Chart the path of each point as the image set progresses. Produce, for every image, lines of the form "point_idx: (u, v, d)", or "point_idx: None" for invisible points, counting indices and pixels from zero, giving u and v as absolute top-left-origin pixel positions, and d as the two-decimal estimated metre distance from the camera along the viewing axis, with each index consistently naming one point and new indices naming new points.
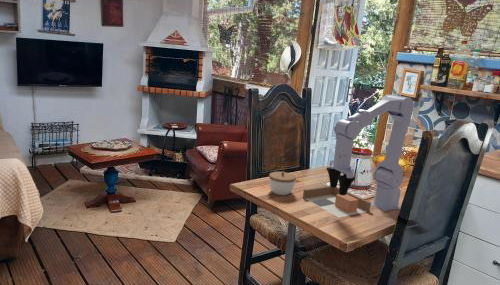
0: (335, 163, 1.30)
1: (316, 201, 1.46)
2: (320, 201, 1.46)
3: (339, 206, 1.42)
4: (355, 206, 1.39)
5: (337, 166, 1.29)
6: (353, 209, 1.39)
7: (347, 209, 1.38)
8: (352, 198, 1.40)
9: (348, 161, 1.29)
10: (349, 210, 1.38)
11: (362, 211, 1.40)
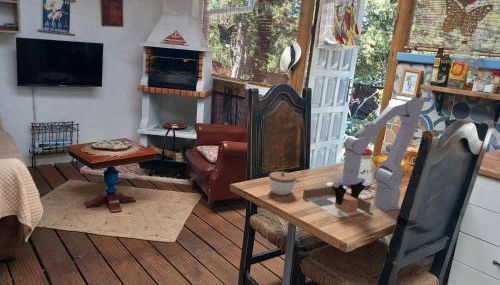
0: None
1: (316, 201, 1.46)
2: (320, 201, 1.46)
3: (339, 206, 1.42)
4: (355, 206, 1.39)
5: (342, 177, 1.40)
6: (353, 209, 1.39)
7: (347, 209, 1.38)
8: (352, 198, 1.40)
9: (347, 174, 1.37)
10: (349, 210, 1.38)
11: (362, 211, 1.40)
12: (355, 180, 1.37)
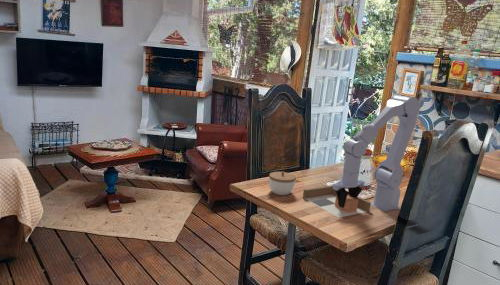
0: None
1: (316, 201, 1.46)
2: (320, 201, 1.46)
3: (339, 206, 1.42)
4: (355, 206, 1.39)
5: (341, 180, 1.41)
6: (353, 209, 1.39)
7: (347, 209, 1.38)
8: (352, 198, 1.40)
9: (347, 177, 1.37)
10: (349, 210, 1.38)
11: (362, 211, 1.40)
12: (355, 183, 1.37)
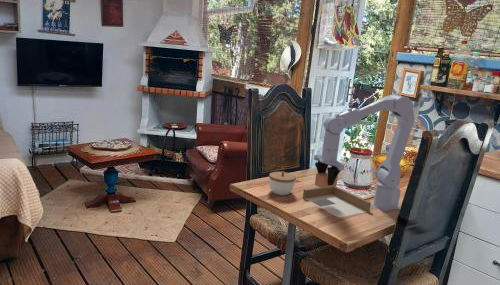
0: (325, 157, 1.40)
1: (316, 201, 1.46)
2: (320, 201, 1.46)
3: (327, 186, 1.42)
4: None
5: (327, 160, 1.39)
6: None
7: (335, 184, 1.44)
8: None
9: (336, 154, 1.40)
10: None
11: (362, 211, 1.40)
12: None
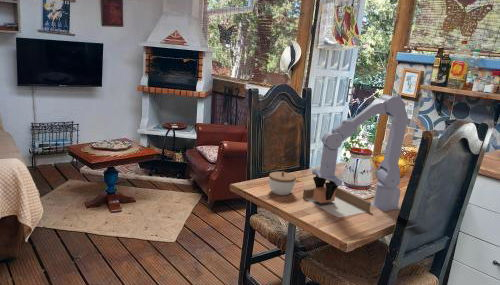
0: (323, 172, 1.41)
1: (316, 201, 1.46)
2: None
3: (325, 201, 1.43)
4: None
5: (325, 175, 1.41)
6: None
7: (333, 198, 1.45)
8: None
9: (334, 170, 1.41)
10: None
11: (362, 211, 1.40)
12: None
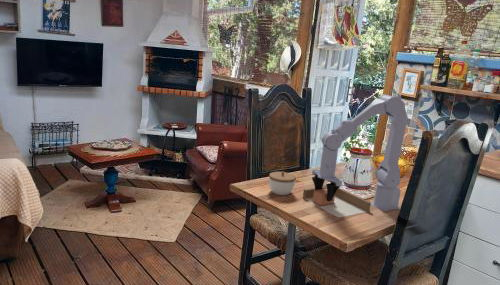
0: (323, 173, 1.41)
1: None
2: None
3: (325, 203, 1.43)
4: None
5: (325, 176, 1.41)
6: None
7: (333, 200, 1.45)
8: (326, 190, 1.47)
9: (334, 170, 1.41)
10: None
11: (362, 211, 1.40)
12: None
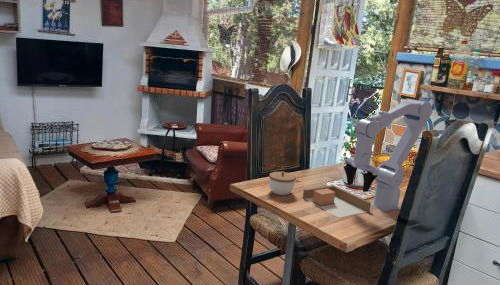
0: (358, 162, 1.35)
1: None
2: None
3: (325, 203, 1.43)
4: None
5: (360, 164, 1.34)
6: None
7: (333, 200, 1.45)
8: (326, 190, 1.47)
9: (369, 159, 1.35)
10: None
11: (362, 211, 1.40)
12: None
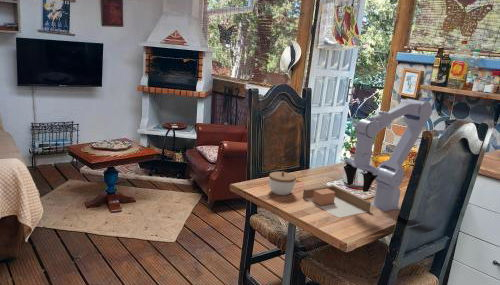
0: (358, 162, 1.35)
1: None
2: None
3: (325, 203, 1.43)
4: None
5: (360, 164, 1.34)
6: None
7: (333, 200, 1.45)
8: (326, 190, 1.47)
9: (369, 159, 1.35)
10: None
11: (362, 211, 1.40)
12: None
